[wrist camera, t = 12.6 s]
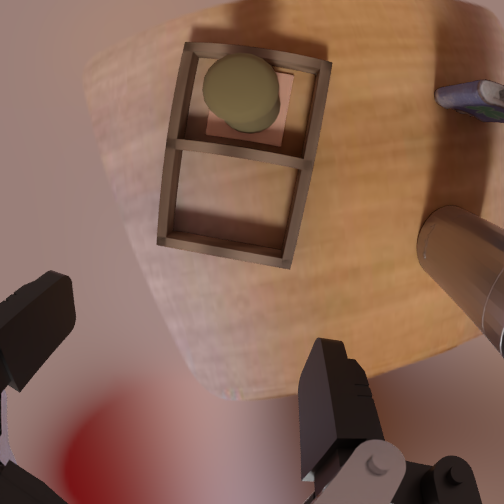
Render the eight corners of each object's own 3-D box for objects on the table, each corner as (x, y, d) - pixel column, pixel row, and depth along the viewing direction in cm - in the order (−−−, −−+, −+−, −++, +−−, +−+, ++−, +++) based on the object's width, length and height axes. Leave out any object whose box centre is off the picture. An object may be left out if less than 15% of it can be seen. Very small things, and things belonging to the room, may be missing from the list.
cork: (218, 78, 26) (191, 45, 15) (279, 75, 25) (285, 40, 15) (220, 134, 28) (192, 131, 17) (281, 133, 27) (288, 127, 17)
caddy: (327, 68, 25) (332, 62, 22) (288, 260, 32) (290, 269, 30) (191, 48, 25) (185, 42, 22) (164, 237, 32) (156, 244, 30)
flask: (433, 105, 25) (492, 98, 15) (433, 81, 24) (491, 66, 14) (489, 125, 25) (548, 130, 15) (489, 103, 23) (547, 102, 13)
